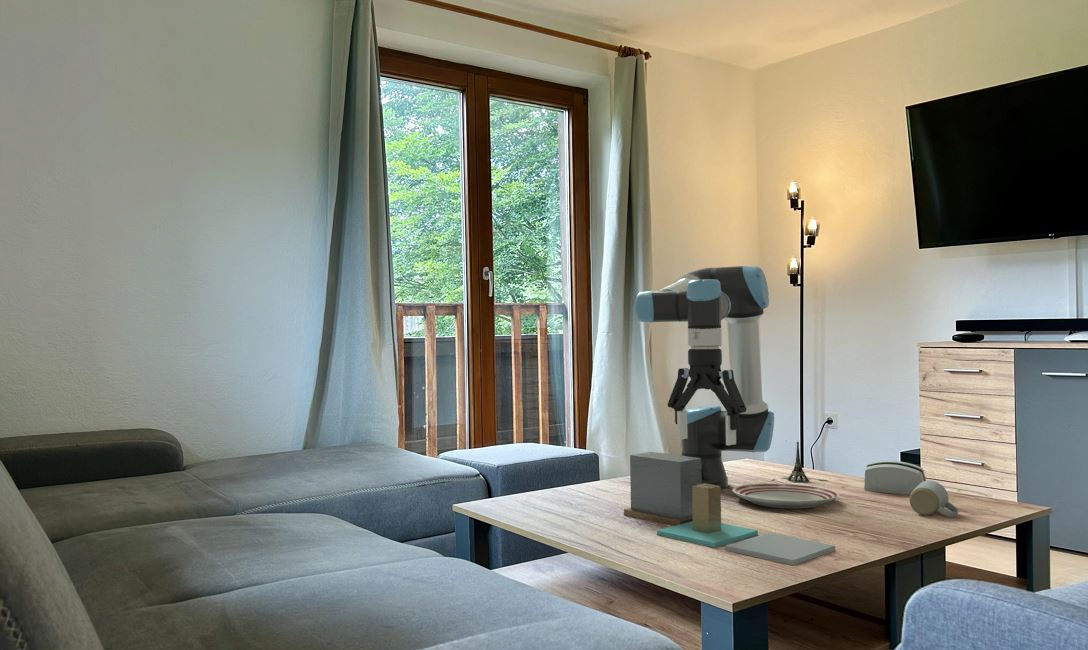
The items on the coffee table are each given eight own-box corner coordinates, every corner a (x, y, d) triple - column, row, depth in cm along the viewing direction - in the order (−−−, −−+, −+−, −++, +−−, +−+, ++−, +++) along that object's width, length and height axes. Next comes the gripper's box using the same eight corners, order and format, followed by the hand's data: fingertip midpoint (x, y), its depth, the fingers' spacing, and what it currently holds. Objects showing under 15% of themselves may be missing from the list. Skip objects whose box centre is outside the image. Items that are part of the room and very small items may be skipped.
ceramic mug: (907, 514, 212) (907, 483, 212) (916, 508, 219) (916, 478, 219) (954, 520, 206) (954, 488, 206) (961, 514, 212) (961, 483, 212)
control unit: (623, 515, 216) (623, 455, 216) (652, 508, 223) (652, 450, 223) (680, 527, 202) (679, 463, 202) (709, 519, 210) (708, 458, 210)
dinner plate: (750, 489, 249) (750, 477, 249) (849, 498, 235) (849, 485, 235) (718, 507, 225) (718, 494, 225) (825, 517, 211) (825, 504, 211)
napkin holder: (930, 493, 239) (927, 460, 236) (927, 501, 235) (924, 468, 232) (867, 487, 248) (864, 456, 245) (863, 495, 245) (860, 463, 242)
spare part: (692, 530, 195) (692, 486, 195) (705, 526, 198) (704, 483, 198) (708, 533, 191) (708, 488, 191) (721, 530, 194) (720, 485, 194)
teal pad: (656, 534, 195) (656, 530, 195) (700, 523, 206) (700, 519, 206) (714, 547, 183) (714, 542, 183) (757, 534, 194) (757, 530, 194)
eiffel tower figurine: (829, 482, 260) (829, 438, 260) (818, 487, 252) (818, 441, 252) (781, 477, 268) (780, 435, 269) (769, 482, 260) (768, 438, 260)
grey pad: (725, 550, 181) (725, 545, 181) (769, 537, 192) (769, 532, 192) (793, 565, 169) (792, 560, 169) (835, 550, 180) (835, 545, 180)
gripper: (651, 347, 201) (653, 438, 202) (741, 349, 183) (742, 449, 183) (672, 346, 206) (673, 435, 207) (761, 348, 188) (762, 445, 188)
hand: (706, 441), depth 195 cm, fingers open, 13 cm apart
